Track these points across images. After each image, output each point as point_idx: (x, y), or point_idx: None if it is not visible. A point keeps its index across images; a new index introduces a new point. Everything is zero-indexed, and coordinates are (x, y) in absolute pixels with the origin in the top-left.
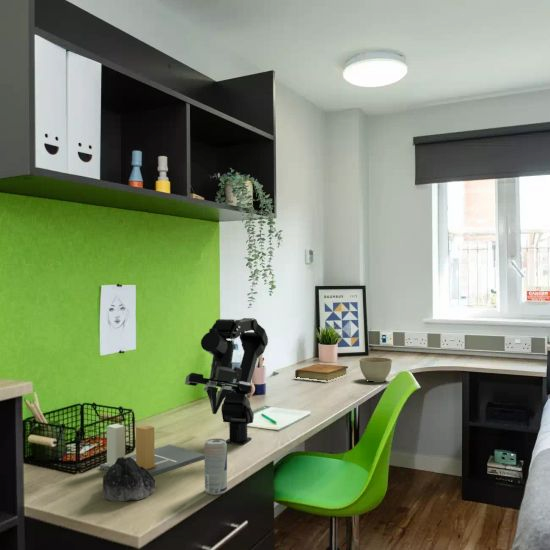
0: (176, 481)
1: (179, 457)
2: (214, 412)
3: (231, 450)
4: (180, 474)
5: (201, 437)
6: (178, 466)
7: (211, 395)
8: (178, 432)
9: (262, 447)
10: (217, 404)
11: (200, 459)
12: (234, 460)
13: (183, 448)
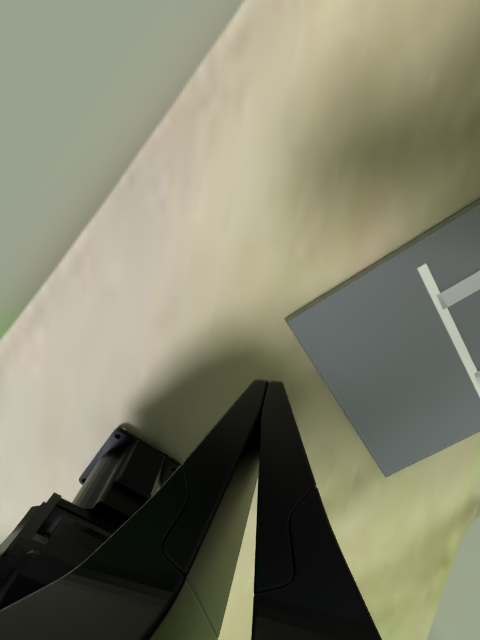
0: (467, 55)
1: (393, 319)
2: (273, 384)
3: (172, 381)
4: (426, 148)
5: (251, 540)
6: (412, 241)
7: (363, 602)
8: None
9: (50, 381)
10: (240, 445)
11: (308, 304)
12: (179, 259)
13: (350, 421)
